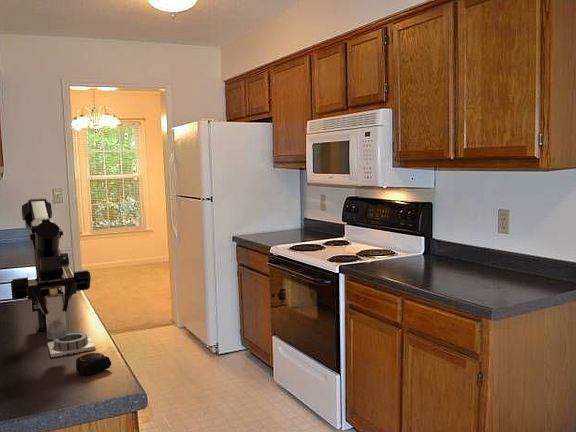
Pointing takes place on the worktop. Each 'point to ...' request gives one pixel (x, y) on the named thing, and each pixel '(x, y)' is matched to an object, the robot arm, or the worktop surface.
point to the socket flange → (71, 344)
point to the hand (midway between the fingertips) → (55, 312)
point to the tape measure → (92, 363)
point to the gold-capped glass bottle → (55, 314)
